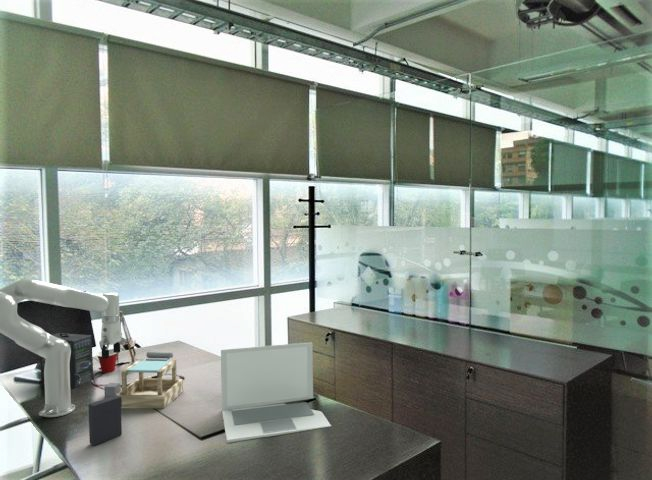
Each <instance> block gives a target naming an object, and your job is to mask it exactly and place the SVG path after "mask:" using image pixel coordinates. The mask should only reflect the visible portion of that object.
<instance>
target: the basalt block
mask: <svg viewBox="0 0 652 480" xmlns="http://www.w3.org/2000/svg"><path fill="white" fill-rule="evenodd" d="M103 388H104V399H105V398H108V397H111V396H115V395H116V394H117V393H119V392H120V391H122V384H121V382H109V383H108V384H106V385H105V386H103Z"/></svg>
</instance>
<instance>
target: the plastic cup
mask: <svg viewBox="0 0 652 480" xmlns="http://www.w3.org/2000/svg"><path fill="white" fill-rule="evenodd" d="M108 350H109V358H108V359H105V358H102V350H100V351H98V352H97V353H96V355H95V356H96V357H97V358H98V361H99V365H100V369H101V370H100V371H101V373H103V374H108V373H109V374H110V373H113V372H115V371H116V365H117V357H118V353H115V352H114V350H113V348H108Z"/></svg>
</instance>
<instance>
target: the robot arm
mask: <svg viewBox="0 0 652 480" xmlns="http://www.w3.org/2000/svg"><path fill="white" fill-rule="evenodd" d="M24 300H28V301H33V302H38V303H43V304H47V305H48V304H49V305H53V306H60V307H64V308H71V309H79V310H85V311H88V312H89V311H90V312H94V313H101V330H100V331H101V332H100V333H101V335H100V336H101V337H100V341H99V344H98V345H99V347H100V351H102V358H105V359H108V358H109V350H108V349H110V348H109V347H110V346H113V347H112V349H113V350H114V352H115V353H117V354H119V353H121V343H122V339H123V338H122V336H123V333H122V324H121V320H120V295H119V293H118V292H115V291H111V292H110V291H108V292H104V293H91V292H88V291H83V290H79V289H75V288H73V287H69V286H64V285H61V284H56V283H51V282H47V281H43V280H38V279H33V278H32V279H31V278H23V279H20V280H17V281H15V282H13V283H10V284H8V285H6V286H4V287H2V288H0V334H1V335H4V336H5V337H7V338H9V339H10V340H12V341H14V342H15V344H17V345H18V346H20V347H22V348H24V349H26V350H28V351H29V352H32V353H34V354H35V355H38V356H39V357H40V356H41V357H44V358H45V360H46V361H45V367H44V383H45V384H44V400H45V401H44V408H43V409H42V410H40V411H39V412H38V416H40V417H43V418H44V417H45V418H56V417H58V418H59V417H61V416H65V415H68V414H71V413H72V412H73V411H75V410H76V405H75V404H74V403H72V401H71V400H72V399H71V393H72V392H71V388H70V356H71V348H70V345H69V344H68V342H66V341H65V340H63V339H60V338H57V337H55V336H53V334H50V333H49V332H47V331H45V330H44V329H43V328H42V327H40V326H38V325H36V324H33V323H31V322H29V321H28V320H26V319H24V318H23V317H21V316H20V315H19V313H18V304H19V303H20V302H22V301H24Z"/></svg>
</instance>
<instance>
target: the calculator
mask: <svg viewBox="0 0 652 480" xmlns="http://www.w3.org/2000/svg"><path fill="white" fill-rule="evenodd" d="M87 407H88V433H89V435H88V436H89V438H88V439H89V444H91V445H92V446H97V445H99V444H101V443H104V442H106V441H109V440H111V439H114V438H117V437H120V436H122V434H123V431H122V430H123V429H122V408H121V407H122V398H121V397H120V396H117V395H115V396H111V397H108V398H105V397H104V398H102V399H99V400H96V401H94V402H90V403H89V404H88V406H87Z"/></svg>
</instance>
